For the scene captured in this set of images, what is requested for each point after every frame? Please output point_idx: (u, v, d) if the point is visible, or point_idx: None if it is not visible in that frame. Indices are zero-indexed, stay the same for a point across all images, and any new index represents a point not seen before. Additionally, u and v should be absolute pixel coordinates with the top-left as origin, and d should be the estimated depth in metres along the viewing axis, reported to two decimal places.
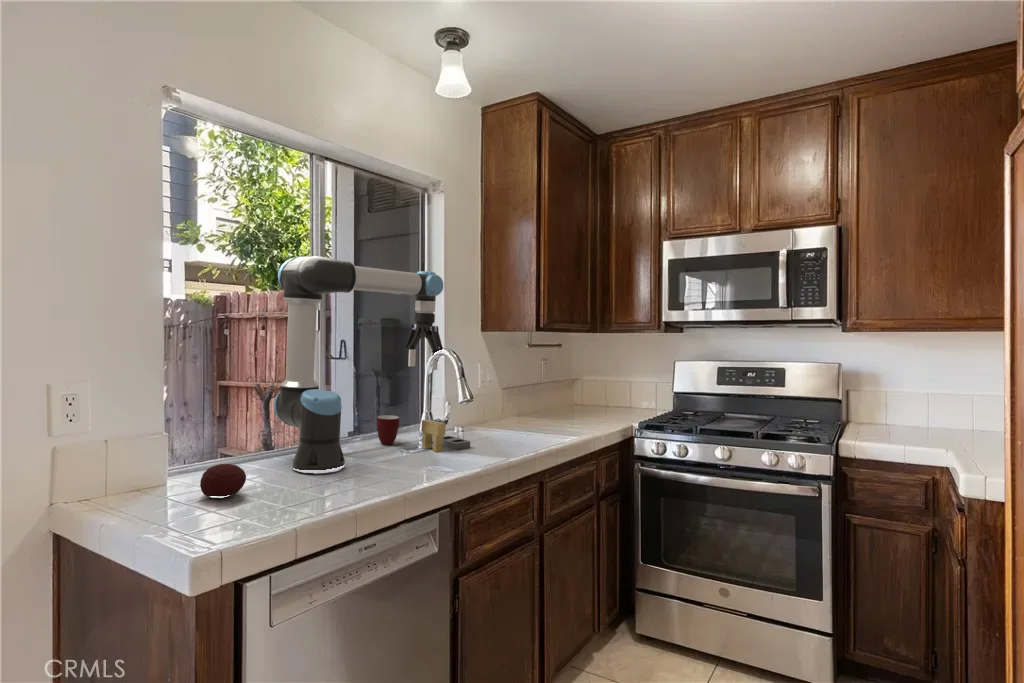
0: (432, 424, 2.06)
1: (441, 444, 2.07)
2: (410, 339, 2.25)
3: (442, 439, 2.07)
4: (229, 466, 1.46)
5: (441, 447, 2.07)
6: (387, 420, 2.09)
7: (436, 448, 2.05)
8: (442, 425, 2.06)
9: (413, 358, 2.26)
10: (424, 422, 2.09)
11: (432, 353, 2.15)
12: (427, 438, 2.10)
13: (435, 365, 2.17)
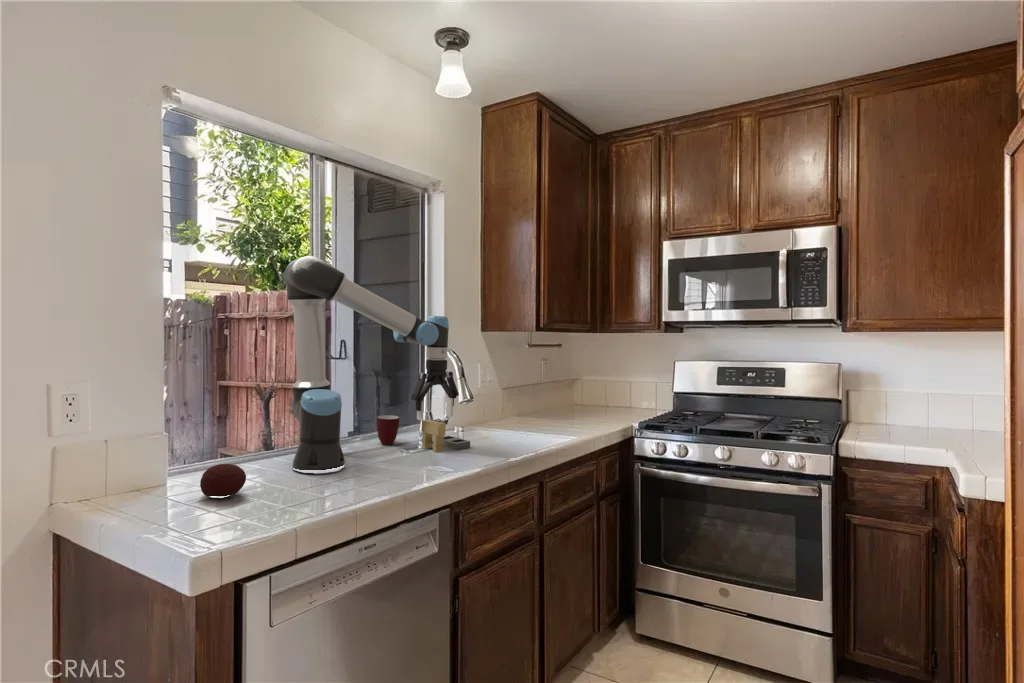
0: (432, 424, 2.06)
1: (441, 444, 2.07)
2: (450, 387, 2.14)
3: (442, 439, 2.07)
4: (229, 466, 1.46)
5: (441, 447, 2.07)
6: (387, 420, 2.09)
7: (436, 448, 2.05)
8: (442, 425, 2.06)
9: (449, 407, 2.13)
10: (424, 422, 2.09)
11: None
12: (427, 438, 2.10)
13: (420, 415, 2.03)
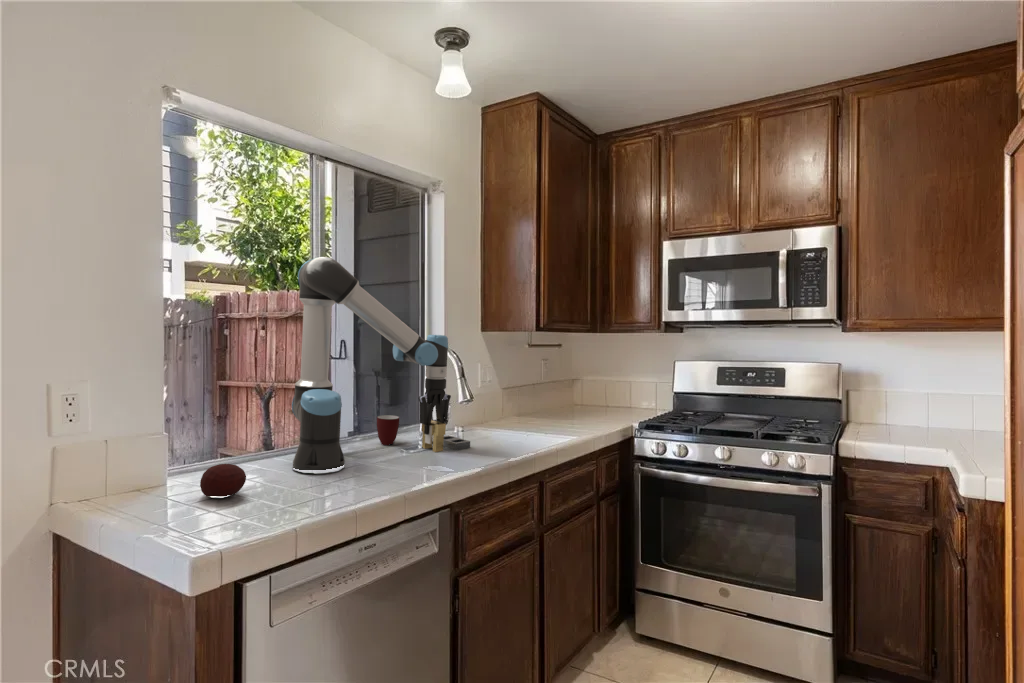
0: (432, 424, 2.06)
1: (441, 444, 2.07)
2: (442, 410, 2.12)
3: (442, 439, 2.07)
4: (229, 466, 1.46)
5: (441, 447, 2.07)
6: (387, 420, 2.09)
7: (436, 448, 2.05)
8: (442, 425, 2.06)
9: None
10: None
11: None
12: None
13: (428, 438, 2.07)
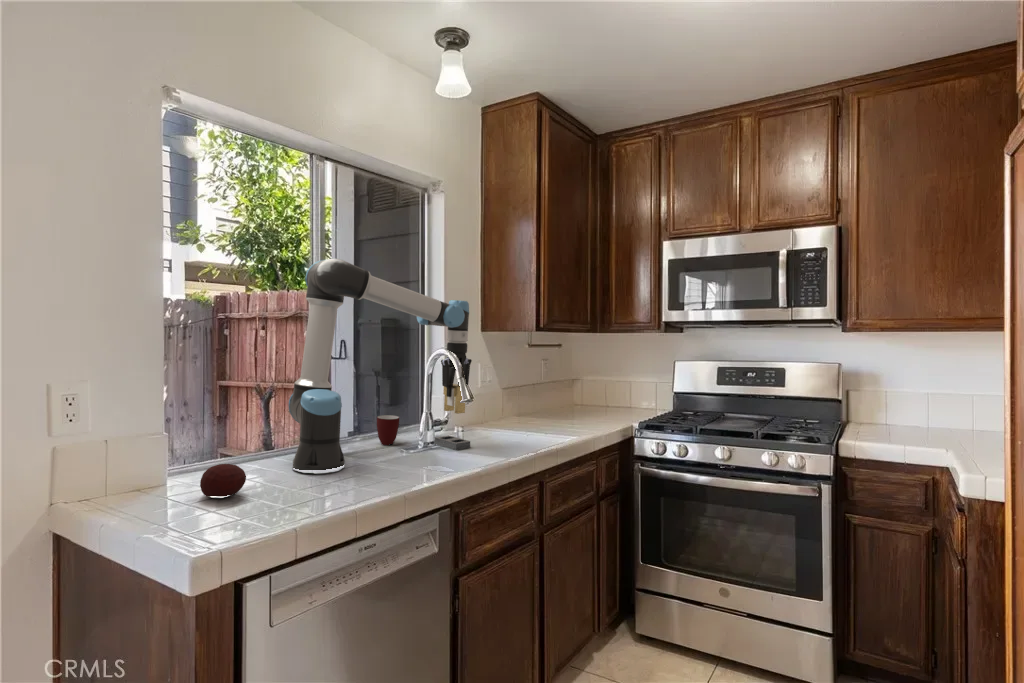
0: (454, 387, 2.13)
1: (463, 406, 2.14)
2: None
3: None
4: (229, 466, 1.46)
5: (463, 409, 2.14)
6: (387, 420, 2.09)
7: (458, 410, 2.12)
8: None
9: None
10: None
11: None
12: None
13: (450, 401, 2.13)
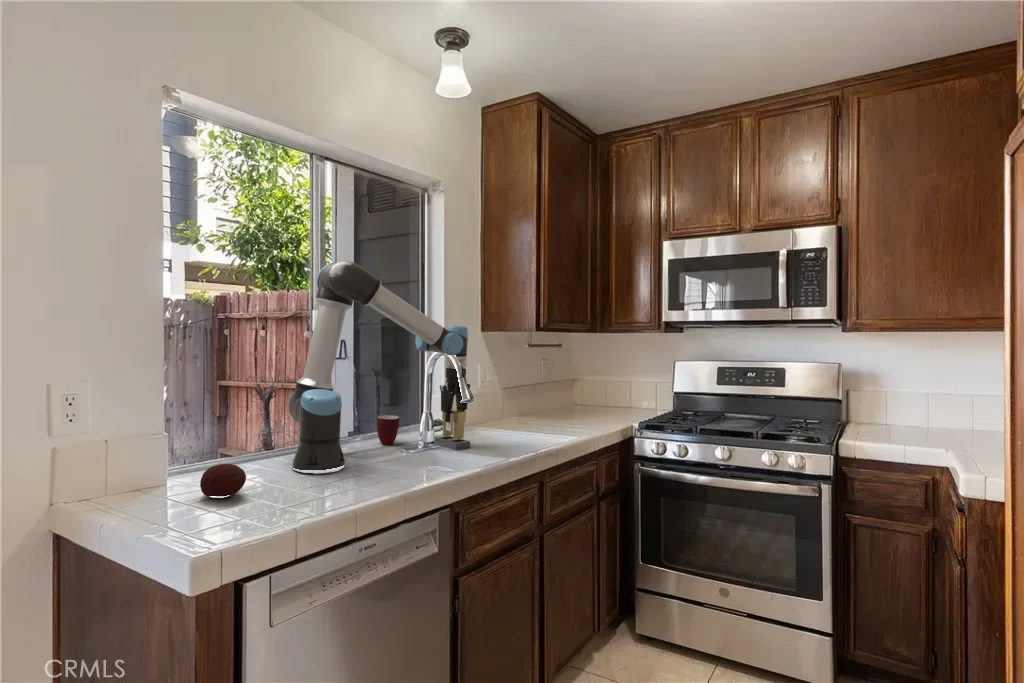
0: (453, 412, 2.13)
1: (461, 431, 2.14)
2: None
3: (462, 426, 2.14)
4: (229, 466, 1.46)
5: (461, 434, 2.14)
6: (387, 420, 2.09)
7: (456, 435, 2.12)
8: (462, 413, 2.13)
9: None
10: None
11: None
12: None
13: (449, 426, 2.14)
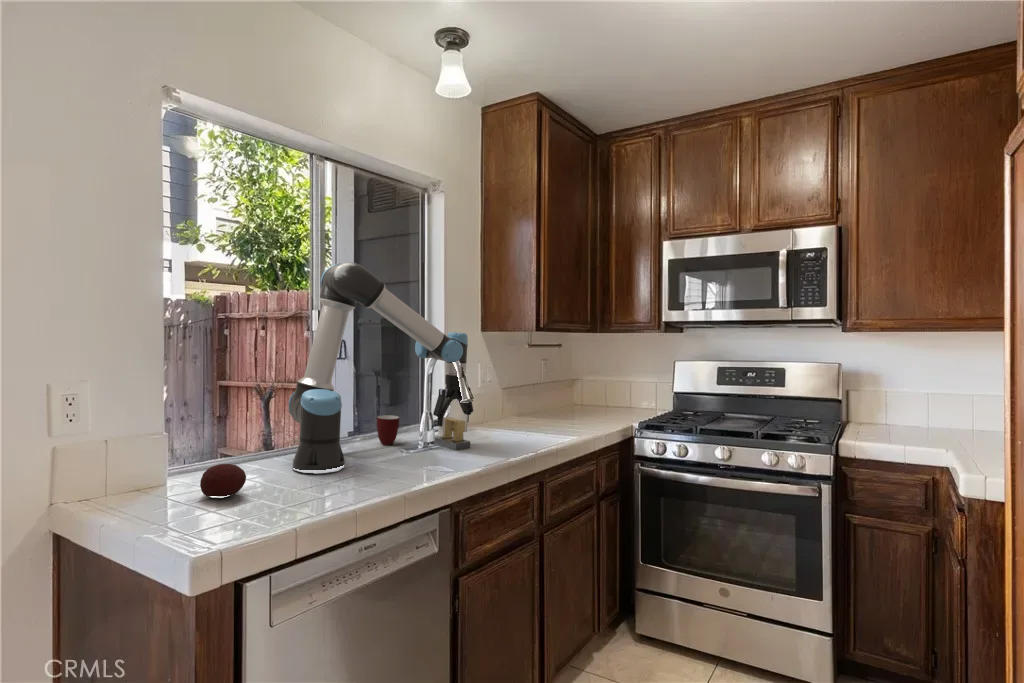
0: (452, 421, 2.13)
1: (461, 440, 2.14)
2: (466, 403, 2.21)
3: (462, 436, 2.14)
4: (229, 466, 1.46)
5: None
6: (387, 420, 2.09)
7: None
8: (462, 422, 2.13)
9: None
10: None
11: None
12: (447, 435, 2.17)
13: (441, 430, 2.11)
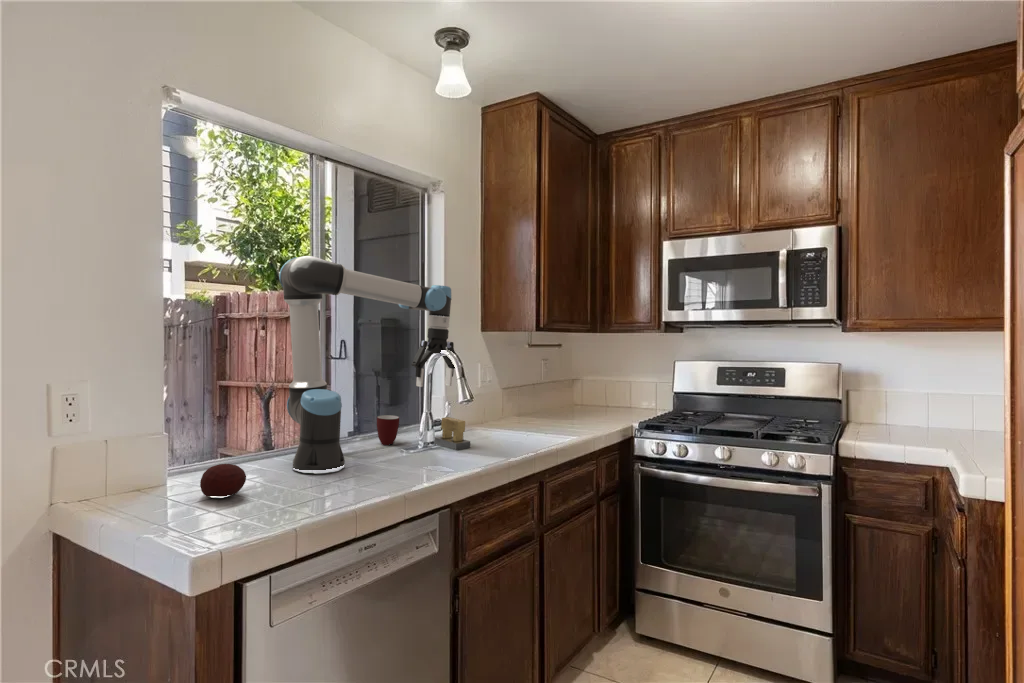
0: (452, 421, 2.13)
1: (461, 440, 2.14)
2: None
3: (462, 436, 2.14)
4: (229, 466, 1.46)
5: None
6: (387, 420, 2.09)
7: None
8: (462, 422, 2.13)
9: (448, 377, 2.16)
10: (444, 419, 2.16)
11: None
12: (447, 435, 2.17)
13: (419, 381, 2.06)
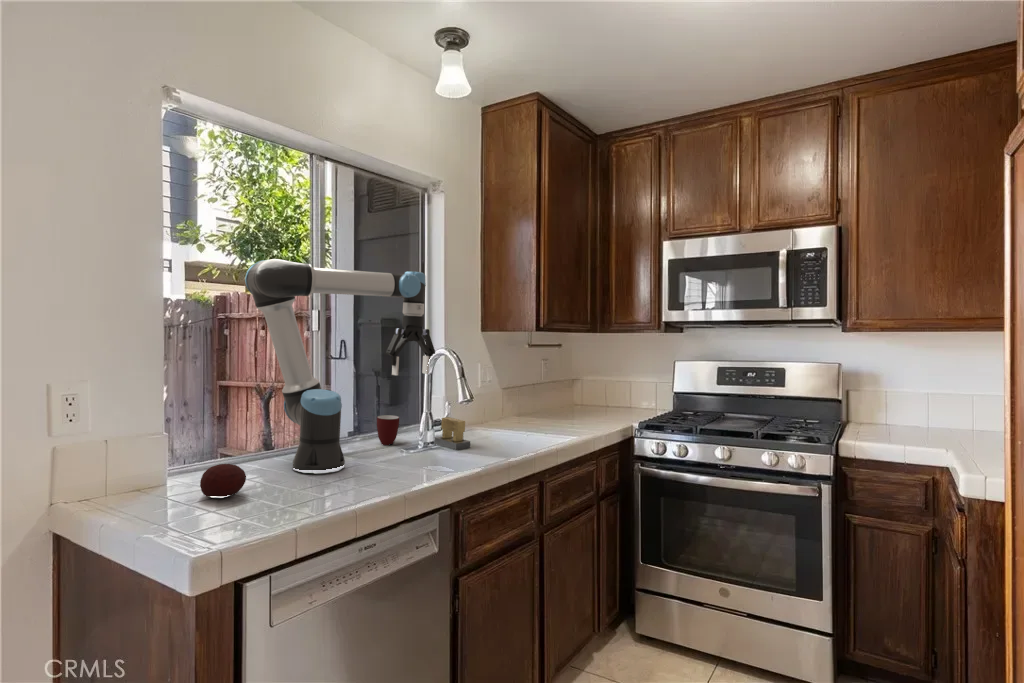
0: (452, 421, 2.13)
1: (461, 440, 2.14)
2: (427, 345, 2.14)
3: (462, 436, 2.14)
4: (229, 466, 1.46)
5: None
6: (387, 420, 2.09)
7: None
8: (462, 422, 2.13)
9: (425, 365, 2.13)
10: (444, 419, 2.16)
11: None
12: (447, 435, 2.17)
13: (395, 370, 2.03)
